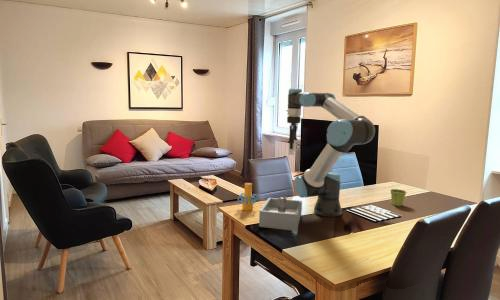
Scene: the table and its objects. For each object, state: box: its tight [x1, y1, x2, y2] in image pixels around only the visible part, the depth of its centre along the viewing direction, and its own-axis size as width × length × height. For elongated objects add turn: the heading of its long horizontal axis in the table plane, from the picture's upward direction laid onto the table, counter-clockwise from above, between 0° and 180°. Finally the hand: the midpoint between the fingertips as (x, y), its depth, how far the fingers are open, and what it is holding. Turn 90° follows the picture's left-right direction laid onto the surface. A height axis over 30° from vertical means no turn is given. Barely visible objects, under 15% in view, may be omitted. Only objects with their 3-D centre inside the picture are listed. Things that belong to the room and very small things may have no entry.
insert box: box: [258, 197, 303, 232], centre depth 188 cm, size 18×24×8 cm
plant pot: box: [389, 188, 408, 207], centre depth 222 cm, size 9×9×9 cm
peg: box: [278, 196, 287, 213], centre depth 188 cm, size 4×4×12 cm
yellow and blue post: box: [237, 182, 259, 212], centre depth 204 cm, size 12×10×15 cm
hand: (292, 152), depth 211 cm, fingers open, 13 cm apart
